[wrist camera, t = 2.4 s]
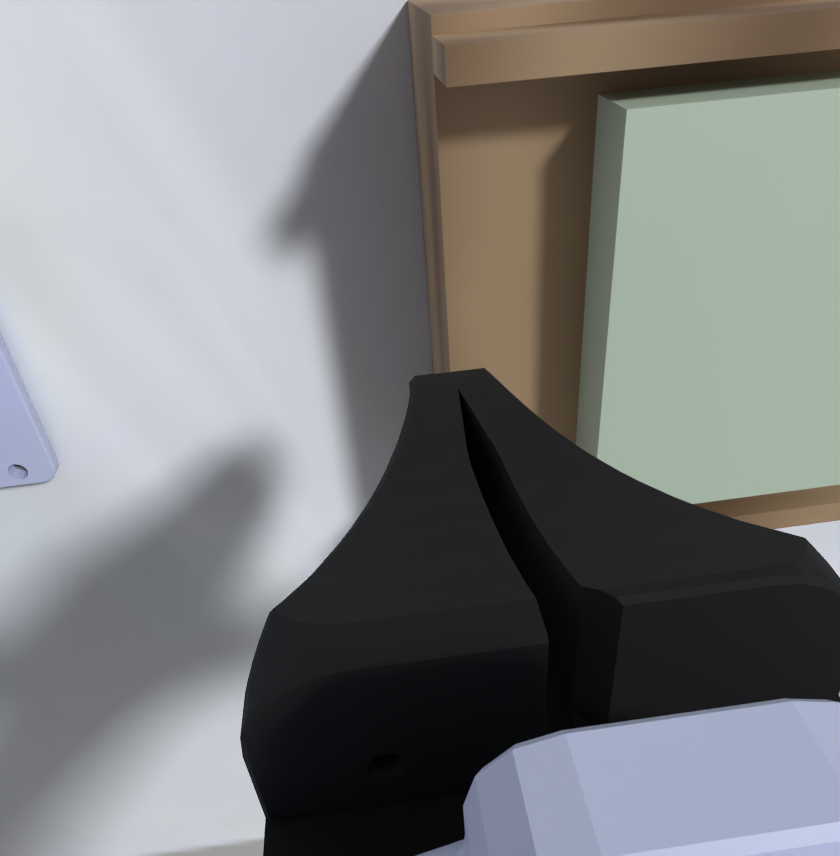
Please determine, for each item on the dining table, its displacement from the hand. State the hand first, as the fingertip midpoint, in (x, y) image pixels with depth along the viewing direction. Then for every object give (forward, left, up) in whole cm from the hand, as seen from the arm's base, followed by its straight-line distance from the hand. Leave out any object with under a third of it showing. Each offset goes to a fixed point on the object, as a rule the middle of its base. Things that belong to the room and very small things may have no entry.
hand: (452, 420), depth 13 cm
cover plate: (+7, 0, -3) cm, 8 cm away
